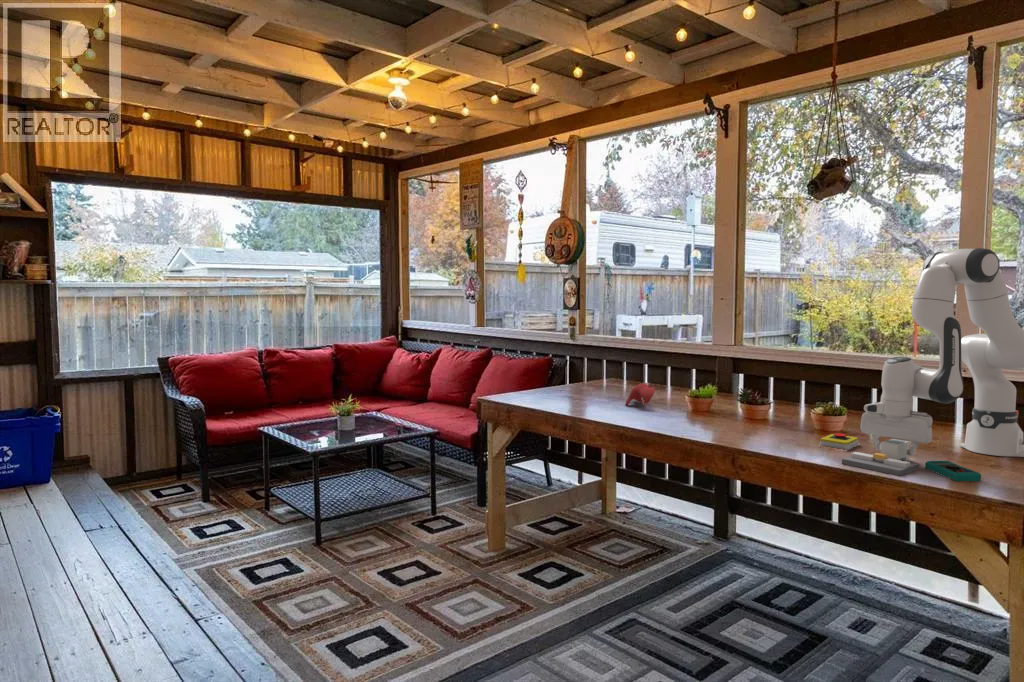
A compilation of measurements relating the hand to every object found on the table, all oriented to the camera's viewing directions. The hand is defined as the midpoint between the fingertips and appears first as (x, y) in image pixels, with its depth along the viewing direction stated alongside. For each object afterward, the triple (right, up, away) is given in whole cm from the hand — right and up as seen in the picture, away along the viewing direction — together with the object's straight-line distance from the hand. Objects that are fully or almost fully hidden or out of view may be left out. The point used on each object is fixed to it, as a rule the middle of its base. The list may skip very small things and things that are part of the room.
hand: (894, 452), depth 209 cm
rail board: (-8, -3, -7) cm, 11 cm away
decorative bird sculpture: (-61, +4, +103) cm, 119 cm away
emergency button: (-7, -2, +20) cm, 22 cm away
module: (0, -3, 0) cm, 3 cm away
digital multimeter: (+8, -5, -16) cm, 18 cm away
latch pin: (-8, -1, -7) cm, 11 cm away
